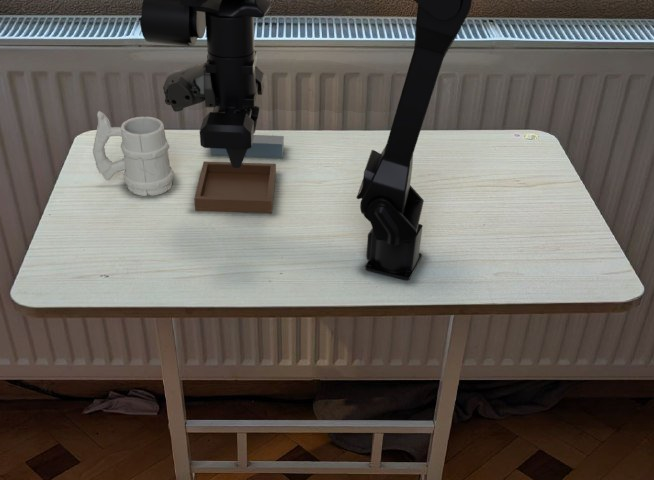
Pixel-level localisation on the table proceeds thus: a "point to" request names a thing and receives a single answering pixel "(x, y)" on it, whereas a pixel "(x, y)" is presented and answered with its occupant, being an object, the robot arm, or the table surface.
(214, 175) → the tray
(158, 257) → the table surface
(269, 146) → the bar
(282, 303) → the table surface
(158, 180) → the mug
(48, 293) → the table surface
